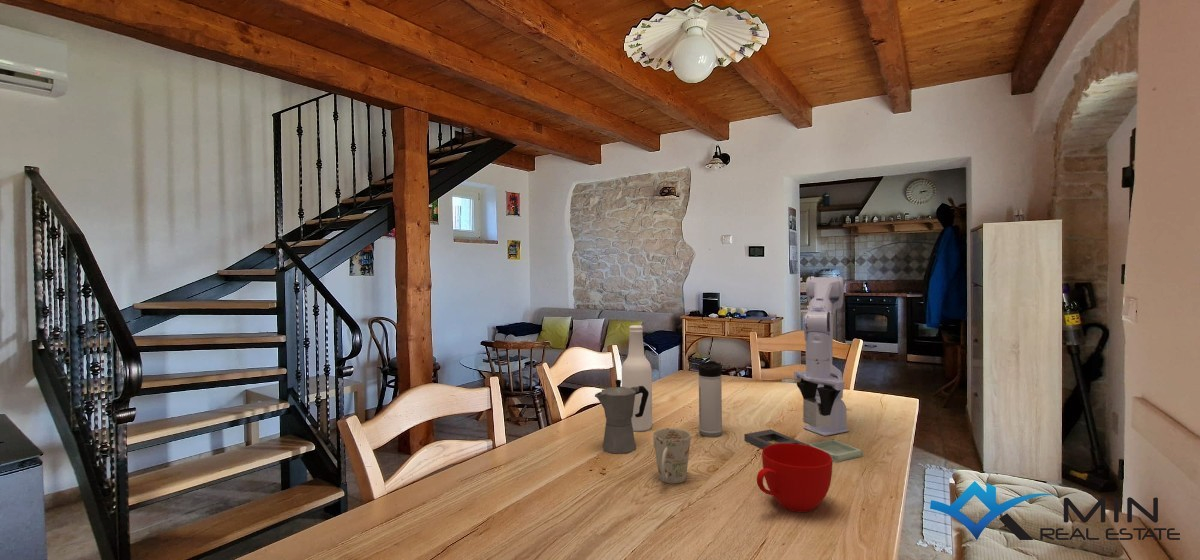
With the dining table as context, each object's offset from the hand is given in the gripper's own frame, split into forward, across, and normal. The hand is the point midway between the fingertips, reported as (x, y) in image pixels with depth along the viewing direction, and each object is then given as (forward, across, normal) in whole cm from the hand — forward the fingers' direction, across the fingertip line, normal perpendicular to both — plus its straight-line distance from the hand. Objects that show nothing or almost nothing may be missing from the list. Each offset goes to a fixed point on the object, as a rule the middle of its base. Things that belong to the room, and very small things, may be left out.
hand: (818, 412), depth 130 cm
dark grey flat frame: (+10, -4, -7) cm, 13 cm away
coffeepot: (+10, -24, -44) cm, 51 cm away
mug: (+10, 0, -43) cm, 44 cm away
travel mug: (+10, -23, -16) cm, 30 cm away
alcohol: (+10, -37, -33) cm, 50 cm away
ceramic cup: (+10, +20, -28) cm, 36 cm away
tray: (+10, +3, +2) cm, 11 cm away
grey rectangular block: (+3, 0, 0) cm, 3 cm away
